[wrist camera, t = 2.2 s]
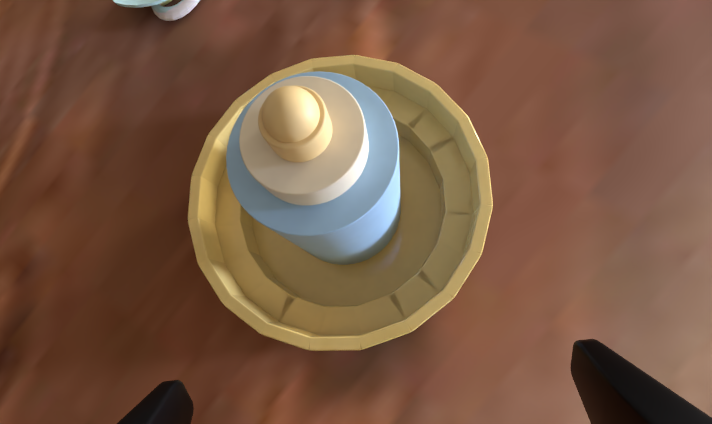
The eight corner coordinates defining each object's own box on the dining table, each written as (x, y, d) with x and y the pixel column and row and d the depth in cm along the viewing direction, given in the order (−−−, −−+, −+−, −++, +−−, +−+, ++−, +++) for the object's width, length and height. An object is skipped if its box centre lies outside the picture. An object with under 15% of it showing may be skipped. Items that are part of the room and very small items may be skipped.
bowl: (380, 401, 21) (374, 424, 17) (178, 245, 25) (130, 231, 20) (524, 175, 23) (551, 144, 19) (319, 60, 27) (303, 12, 23)
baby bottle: (358, 287, 22) (305, 260, 10) (268, 224, 24) (130, 135, 12) (422, 193, 23) (443, 65, 11) (332, 137, 25) (264, -28, 13)
